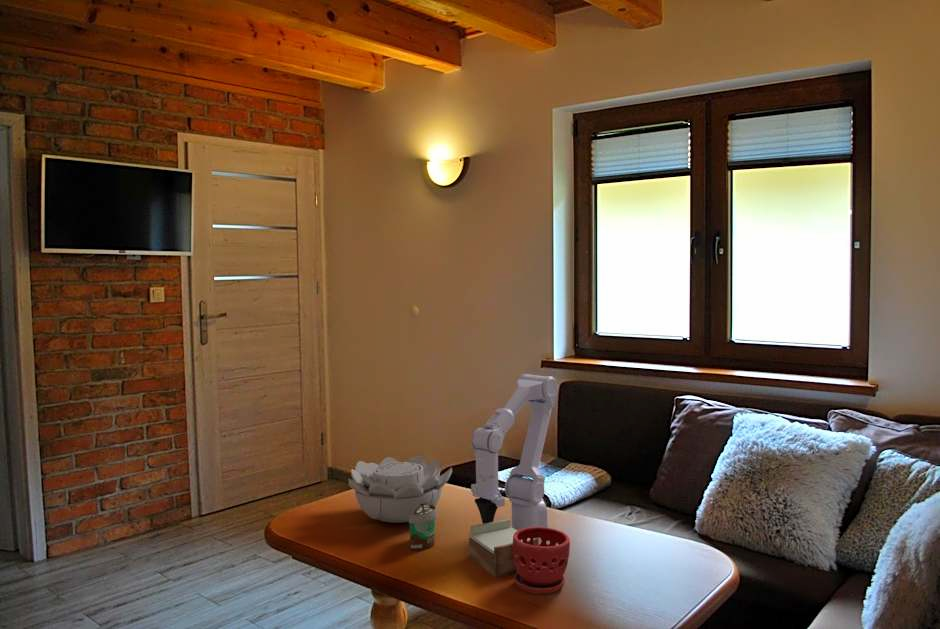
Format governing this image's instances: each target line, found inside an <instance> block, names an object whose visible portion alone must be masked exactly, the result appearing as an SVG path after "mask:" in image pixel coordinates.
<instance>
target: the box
mask: <svg viewBox="0 0 940 629" xmlns="http://www.w3.org/2000/svg"><path fill="white" fill-rule="evenodd" d="M529 541H530V539H529V540H527V542H529ZM521 542H523V541H521ZM533 543H534V544H535V545H539V537H535V538H534V539H533ZM469 557H470V558H469ZM468 558H469V559H471V560H472V561H473V560H474V561H473V562H475V563H476V564H477V563H478V564H477V565H478V566H480V567H481V566H482V567H481V568H483V569H484V570H485V569H486V570H485V571H487V573H489V574H490V575H492V576H493V577H494V578H496V577H497V578H500V576H501V577H505V576H509V575H513V574H516V573H517V570H516V567H515V563H514V558H513V543H511V544H506V545H501V546H497V547H494V554H493V553H491V552H490V551H488V550H487V549H486V548H484V547H483V546H481V545H480V544H478V543H477V542H476V541H474V540H473V539H471V538H470V537H469V538H468ZM508 574H509V575H508ZM504 575H505V576H504Z"/></svg>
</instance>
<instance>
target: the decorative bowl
mask: <svg viewBox="0 0 940 629" xmlns="http://www.w3.org/2000/svg"><path fill="white" fill-rule="evenodd" d="M440 472H441V467H440V462H439V460H433V461H431V462H429V463H428V464H427V462H426V460H425V458H423V456H422V455H419V454H418V455H417V454H416V455H413V456H412V457H411V458H409V459H406V460H405V461H398V460H397V459H395V458H394V457H390V456H388V457H385V458H384V459H383V460H382V461H381V462H380V463H379V464H377V463H375V462H369V463H367V462H365V461H363V460H359V461H357V463H356V466H355V469H353V468H352V469H350V475H351V478H348V486H349V488H350V489H352V490H354V494H355V498H356V501H357V503H358V505H359V507H360V509H361V510H362V511H363V513H364V514H366V515H367V516H368V517H370V518H371V519H373V520H378V521H381V522H384V523H390V524H401V523H409V515H413V513H414V512H415V510H416V509H417V508H418V507H419V506H420V502H421V501H425V502H430V503H433V504H434V505H435V506H436V507H437V504H438V503H439V500H440V498H441V495H442V491H443V487H444V486H445V485H446V484H447V482H448V481H449V480H450V477H451V475H452V473H453V468H452V467H450V468H449V469H448V470H447V471H445V472H444V473H442V474H441V475H440Z"/></svg>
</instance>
